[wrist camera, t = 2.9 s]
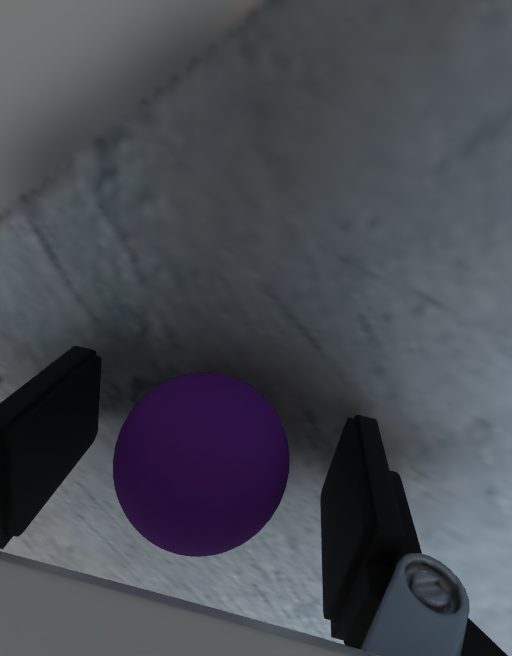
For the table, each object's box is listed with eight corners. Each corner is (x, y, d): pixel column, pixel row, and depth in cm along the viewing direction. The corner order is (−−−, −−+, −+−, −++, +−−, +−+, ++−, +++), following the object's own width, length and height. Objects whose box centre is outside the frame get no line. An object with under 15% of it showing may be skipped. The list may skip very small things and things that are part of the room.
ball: (159, 329, 12) (78, 417, 8) (309, 365, 11) (307, 475, 7) (145, 448, 13) (73, 572, 9) (275, 481, 13) (259, 621, 9)
